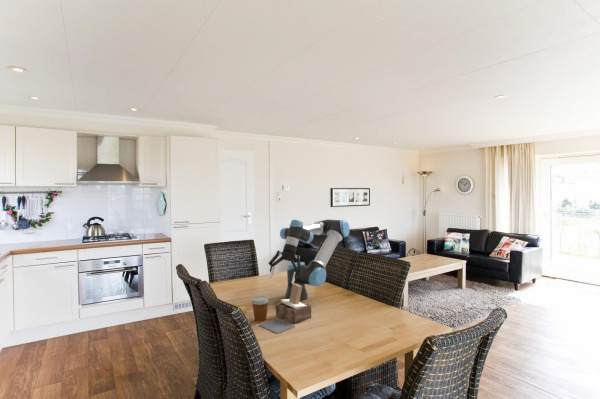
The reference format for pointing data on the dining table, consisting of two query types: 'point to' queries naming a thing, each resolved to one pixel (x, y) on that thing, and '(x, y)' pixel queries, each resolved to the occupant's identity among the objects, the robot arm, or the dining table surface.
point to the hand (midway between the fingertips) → (281, 280)
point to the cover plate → (296, 306)
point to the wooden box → (293, 313)
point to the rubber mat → (277, 326)
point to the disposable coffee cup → (260, 308)
